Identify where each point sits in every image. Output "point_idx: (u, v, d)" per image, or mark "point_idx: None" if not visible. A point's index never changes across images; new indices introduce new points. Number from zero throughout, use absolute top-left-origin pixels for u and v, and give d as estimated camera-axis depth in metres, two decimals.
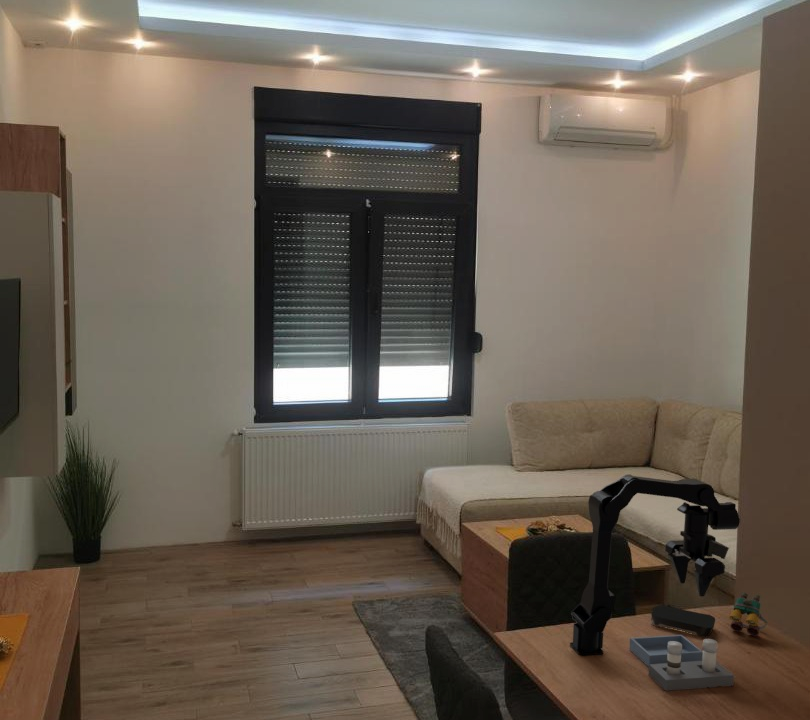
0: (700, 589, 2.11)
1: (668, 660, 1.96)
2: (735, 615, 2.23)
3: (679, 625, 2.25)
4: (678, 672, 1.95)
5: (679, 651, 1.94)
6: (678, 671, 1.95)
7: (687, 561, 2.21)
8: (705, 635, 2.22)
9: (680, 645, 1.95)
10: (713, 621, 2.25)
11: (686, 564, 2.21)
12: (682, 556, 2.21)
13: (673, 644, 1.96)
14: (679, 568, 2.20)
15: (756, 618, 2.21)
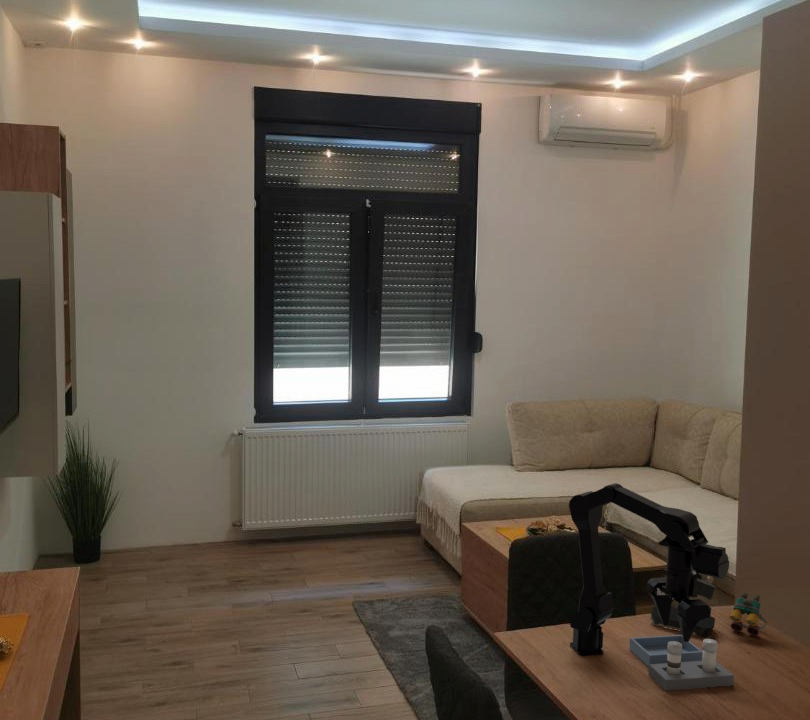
0: (684, 634, 1.90)
1: (668, 660, 1.96)
2: (735, 615, 2.23)
3: (678, 625, 2.25)
4: (678, 672, 1.95)
5: (679, 651, 1.94)
6: (678, 671, 1.95)
7: (670, 601, 2.00)
8: (704, 635, 2.22)
9: (680, 645, 1.95)
10: (713, 622, 2.24)
11: (669, 604, 2.00)
12: (665, 595, 2.00)
13: (673, 644, 1.96)
14: (662, 609, 2.00)
15: (756, 618, 2.21)
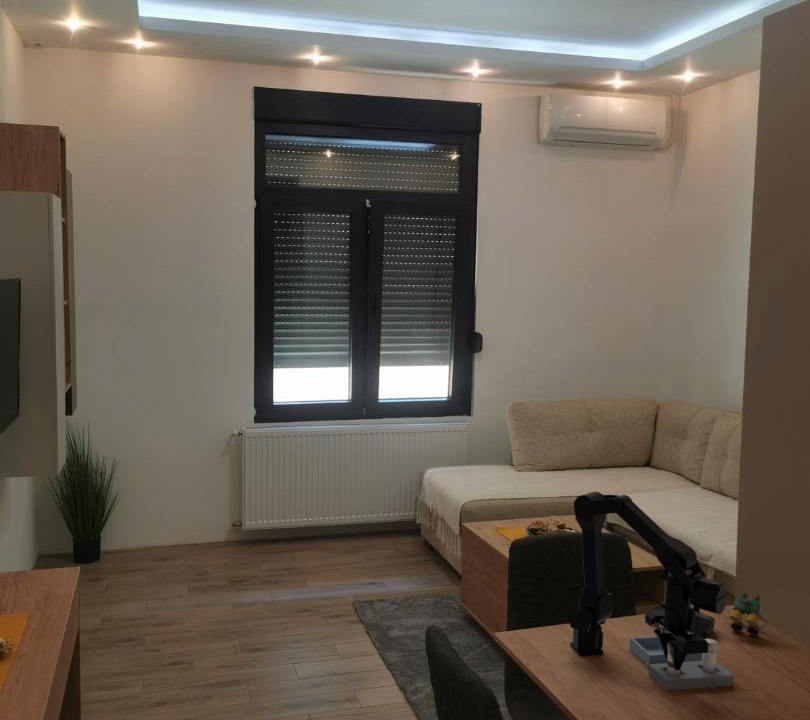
0: (675, 663, 1.93)
1: (668, 660, 1.96)
2: (735, 615, 2.23)
3: None
4: (678, 672, 1.95)
5: None
6: (678, 671, 1.95)
7: (675, 639, 1.98)
8: (702, 636, 2.21)
9: None
10: None
11: None
12: (669, 633, 1.98)
13: None
14: None
15: (756, 618, 2.21)
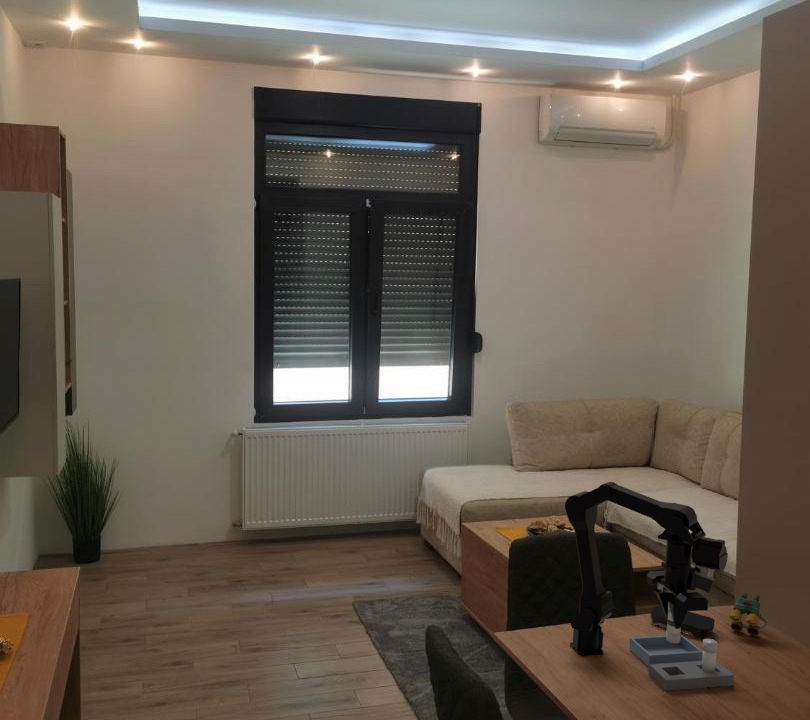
0: (675, 621, 1.95)
1: (668, 619, 1.97)
2: (735, 615, 2.23)
3: None
4: (678, 630, 1.97)
5: None
6: (678, 630, 1.97)
7: (675, 598, 2.00)
8: (700, 636, 2.21)
9: None
10: (711, 623, 2.23)
11: None
12: (670, 593, 2.00)
13: None
14: (667, 606, 1.99)
15: (756, 618, 2.21)
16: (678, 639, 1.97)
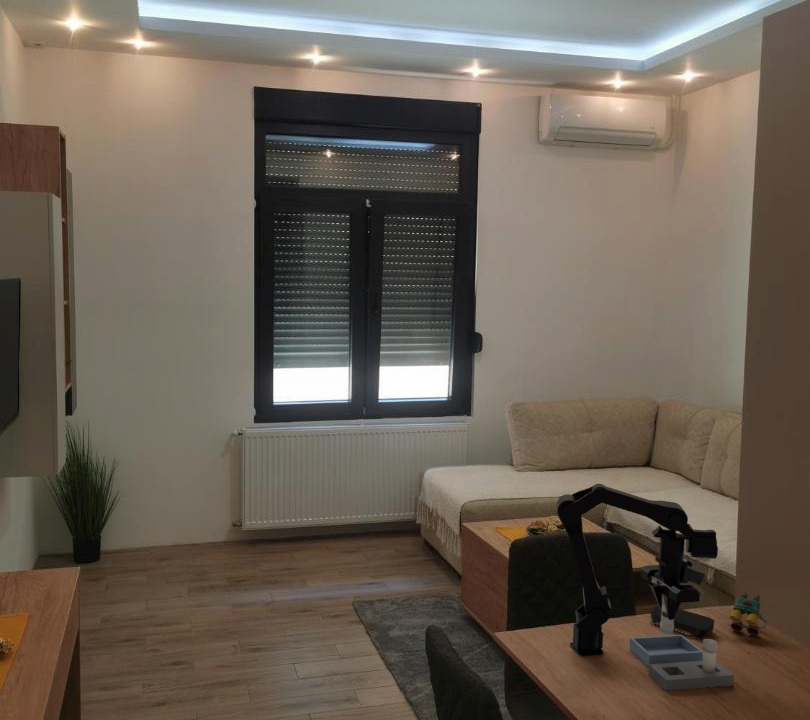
0: (669, 612, 2.06)
1: (662, 610, 2.08)
2: (735, 615, 2.23)
3: (675, 625, 2.25)
4: (672, 621, 2.08)
5: None
6: (672, 621, 2.08)
7: (669, 591, 2.11)
8: (699, 636, 2.21)
9: None
10: (711, 624, 2.23)
11: None
12: (663, 586, 2.11)
13: None
14: (661, 599, 2.10)
15: (756, 618, 2.21)
16: (672, 629, 2.08)
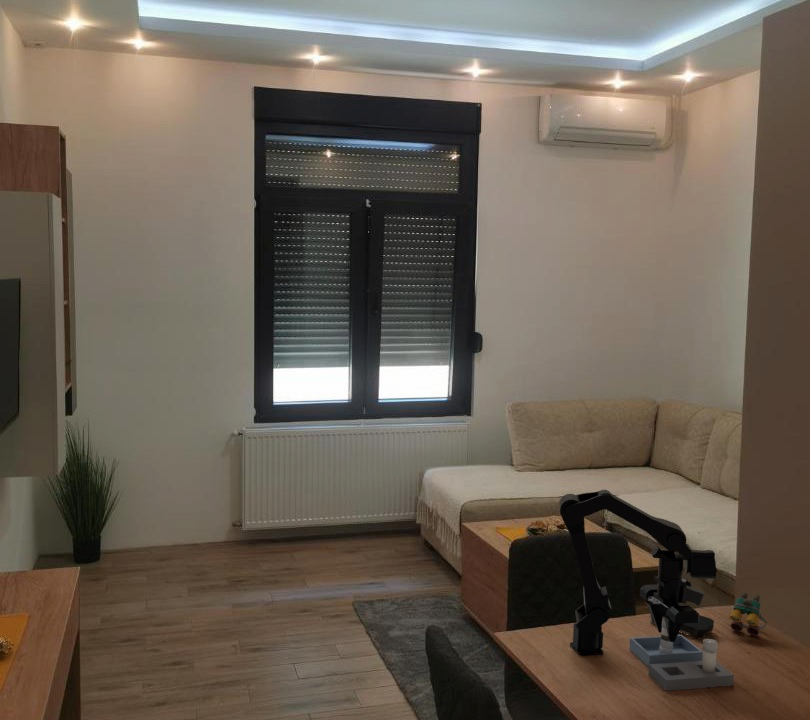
0: (670, 635, 2.05)
1: (662, 634, 2.09)
2: (735, 615, 2.23)
3: None
4: (671, 645, 2.08)
5: None
6: (671, 644, 2.08)
7: (665, 609, 2.12)
8: (697, 637, 2.21)
9: None
10: (710, 624, 2.23)
11: (664, 612, 2.12)
12: (660, 604, 2.12)
13: None
14: (657, 617, 2.12)
15: (756, 618, 2.21)
16: None
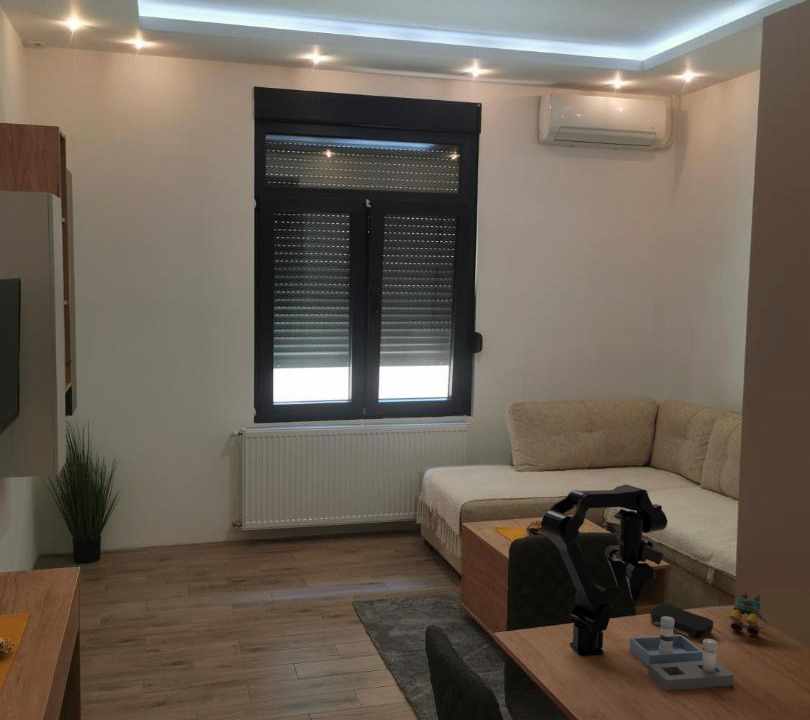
0: (632, 594, 2.13)
1: (661, 634, 2.09)
2: (735, 615, 2.23)
3: None
4: (671, 645, 2.08)
5: (671, 625, 2.08)
6: (671, 644, 2.08)
7: (625, 566, 2.23)
8: (695, 637, 2.20)
9: (672, 620, 2.08)
10: (709, 625, 2.22)
11: (624, 569, 2.23)
12: (620, 561, 2.23)
13: (666, 619, 2.09)
14: (617, 573, 2.23)
15: (756, 618, 2.21)
16: None
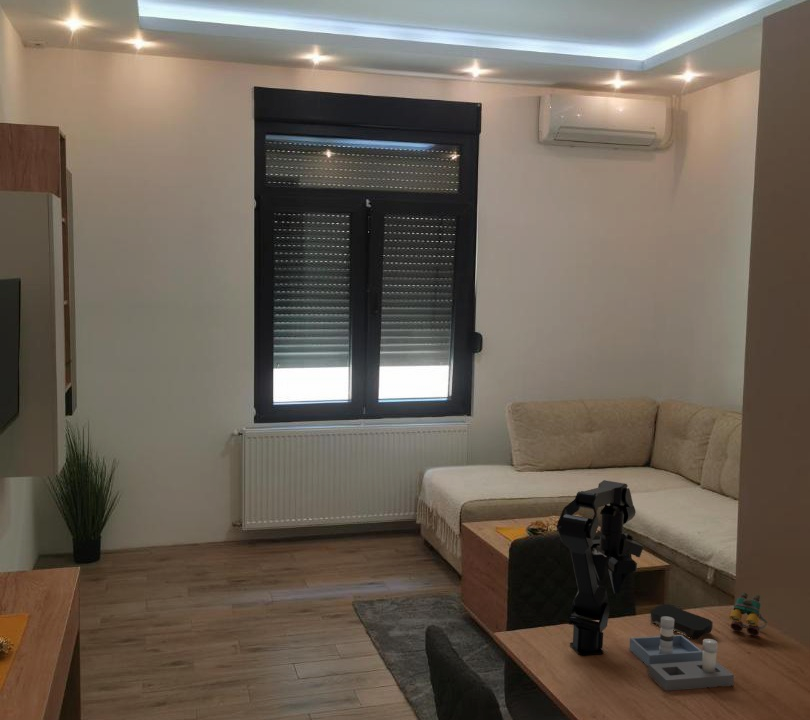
0: (614, 586, 2.17)
1: (661, 634, 2.09)
2: (735, 615, 2.23)
3: None
4: (671, 645, 2.08)
5: (671, 625, 2.08)
6: (670, 644, 2.08)
7: (605, 559, 2.28)
8: (693, 637, 2.20)
9: (672, 620, 2.08)
10: (708, 625, 2.22)
11: (604, 562, 2.28)
12: (601, 555, 2.28)
13: (666, 619, 2.09)
14: (598, 566, 2.27)
15: (756, 618, 2.21)
16: None
